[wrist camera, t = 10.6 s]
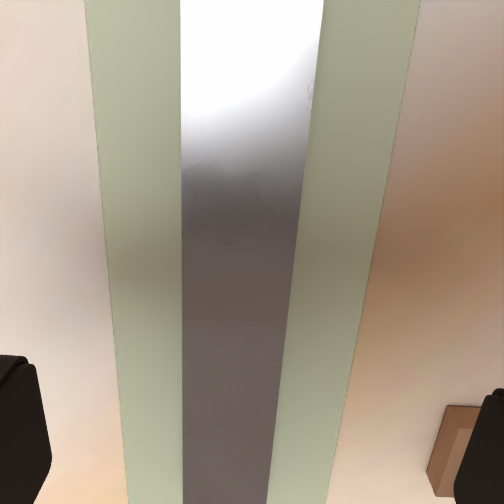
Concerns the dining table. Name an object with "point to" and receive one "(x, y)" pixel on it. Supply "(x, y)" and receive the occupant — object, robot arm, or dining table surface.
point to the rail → (239, 230)
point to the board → (307, 243)
